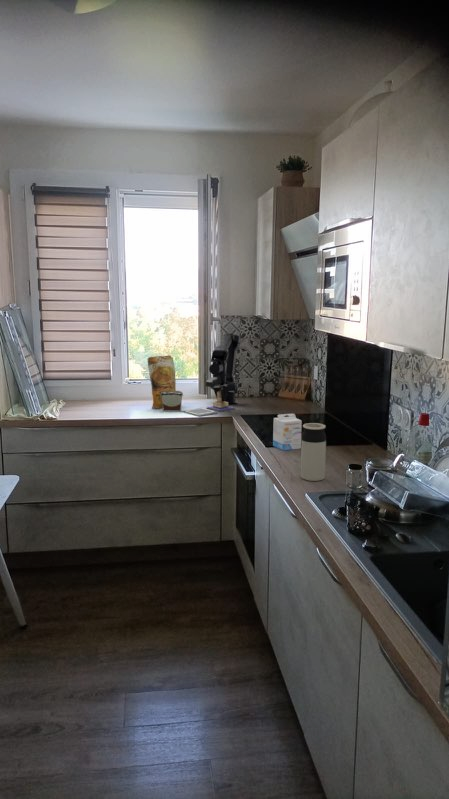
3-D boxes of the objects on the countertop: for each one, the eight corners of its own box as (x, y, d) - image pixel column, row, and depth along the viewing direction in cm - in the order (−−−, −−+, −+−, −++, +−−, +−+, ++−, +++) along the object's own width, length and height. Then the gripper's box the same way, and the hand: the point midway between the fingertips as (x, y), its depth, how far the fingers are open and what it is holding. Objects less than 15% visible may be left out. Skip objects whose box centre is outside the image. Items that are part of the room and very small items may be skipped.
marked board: (200, 409, 297) (200, 407, 297) (217, 413, 286) (217, 411, 286) (182, 412, 290) (182, 410, 289) (199, 416, 278) (199, 415, 278)
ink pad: (221, 406, 304) (221, 404, 304) (234, 409, 296) (234, 407, 296) (206, 408, 297) (206, 407, 297) (219, 412, 289) (219, 410, 289)
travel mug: (316, 483, 179) (317, 429, 175) (296, 478, 184) (297, 425, 181) (329, 477, 184) (331, 425, 181) (309, 472, 190) (310, 421, 186)
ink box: (282, 451, 216) (283, 417, 214) (272, 445, 224) (272, 413, 221) (301, 448, 219) (302, 415, 217) (290, 443, 227) (291, 411, 225)
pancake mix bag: (145, 407, 301) (143, 356, 296) (173, 403, 314) (172, 354, 308) (152, 409, 296) (151, 357, 291) (180, 404, 309) (179, 355, 304)
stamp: (221, 405, 300) (221, 390, 299) (228, 407, 296) (228, 391, 294) (212, 407, 297) (212, 391, 295) (219, 408, 292) (219, 393, 291)
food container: (185, 408, 298) (185, 390, 296) (183, 411, 292) (183, 392, 290) (163, 408, 300) (162, 390, 298) (160, 410, 294) (160, 392, 292)
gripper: (197, 371, 295) (198, 400, 298) (219, 375, 281) (219, 405, 284) (213, 369, 302) (214, 397, 305) (236, 373, 288) (236, 402, 291)
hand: (220, 400), depth 296 cm, fingers closed on stamp, 4 cm apart
